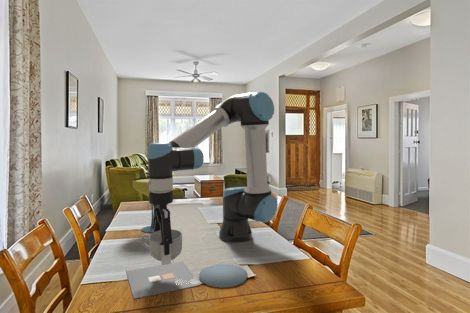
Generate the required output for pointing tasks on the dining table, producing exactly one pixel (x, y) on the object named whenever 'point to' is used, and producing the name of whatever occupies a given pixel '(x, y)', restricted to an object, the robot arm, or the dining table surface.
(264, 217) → the robot arm
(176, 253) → the teacup
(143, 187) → the cocktail glass
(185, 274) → the card
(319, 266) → the dining table surface
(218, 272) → the coaster
